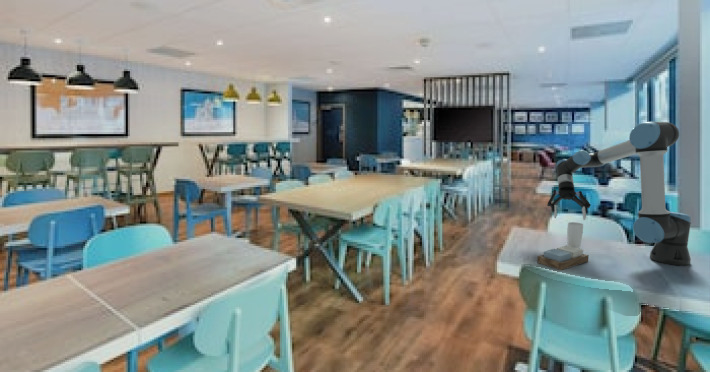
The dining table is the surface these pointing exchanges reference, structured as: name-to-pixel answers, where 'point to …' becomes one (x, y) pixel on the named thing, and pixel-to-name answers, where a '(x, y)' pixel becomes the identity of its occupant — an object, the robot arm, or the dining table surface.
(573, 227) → the drinking glass
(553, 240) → the dining table surface
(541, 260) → the keyguard frame
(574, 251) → the cream key
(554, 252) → the slate key
